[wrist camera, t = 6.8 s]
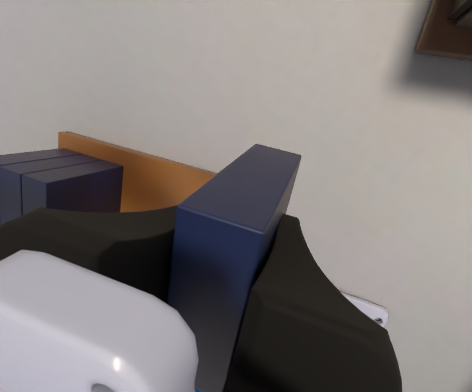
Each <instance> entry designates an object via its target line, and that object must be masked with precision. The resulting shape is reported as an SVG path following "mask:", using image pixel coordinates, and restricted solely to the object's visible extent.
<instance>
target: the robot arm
mask: <svg viewBox="0 0 472 392" xmlns="http://www.w3.org/2000/svg"><path fill="white" fill-rule="evenodd" d="M177 206H178V205H176V206H171V207H167V208H162V209H156V210H148V211H139V212H121V213H95V212H77V211H67V210H58V209H49V208H42V207H41V208H38V209H35V210H33V211H31V212H28V213H26V214H24V215H21V216H19V217H17V218H14V219H12V220H10V221H7V222H5V223H3V224H2V225H0V392H195V377H196V372H197V366H198V361H199V359H198V352H197V346H196V339H195V335H194V333H193V332H192V330H191V329H190V328H189V326H188V325H187V323H186V322H185V321H184V319H183V318H182V317H181V315H180V314H179V312H178V311H177V310H176V309H174V308H173V307H171V306H169V305H168V304H167V296H168V286H169V277H170V268H171V258H172V249H173V240H174V230H175V221H176V212H177ZM376 318H380V319H382V320H381V321H376V320H375V319H376ZM388 318H389V314H388V310H387V309H386V308H384V307H382V306H379V305H377V304H374V303H371V302H368V301H365V300H362V299H359V298H357V297H354V296H351V295H348V294H345V293H342V292H340V291H339V290H338V289H337V288H336V287H335V286H334V285H333V284H332V283H331V282H330V280H329V279H328V278H327V277H326V276H325V274H324V273H323V272H322V270H321V269H320V268H319V266H318V265H317V263H316V262H315V260H314V258H313V256H312V255H311V253H310V251H309V248H308V246H307V244H306V241H305V239H304V236H303V234H302V230H301V227H300V221H299V219H298V218H296V217H293V216H290V215H286V214H283V215H282V217H281V219H280V221H279V223H278V226H277V230H276V234H275V237H274V241H273V245H272V249H271V252H270V256H269V258H268V260H267V262H266V265H265V267H264V268H263V270H262V272H261V274H260V276H259V278H258V279H257V281H256V282H255V284H254V286H253V287H252V288H251V292H250V296H249V300H248V304H247V308H246V312H245V316H244V320H243V324H242V328H241V332H240V336H239V340H238V344H237V348H236V351H235V355H234V359H233V363H232V366H231V368H230V371H229V374H228V376H227V379H226V382H225V384H224V387H223V391H222V392H402V380H401V375H400V371H399V366H398V362H397V358H396V355H395V352H394V349H393V346H392V343H391V341H390V338H389V335H388V331H387V330H386V329H385V328H384V327H385V325H386V322H387V320H388Z"/></svg>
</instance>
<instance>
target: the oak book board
mask: <svg viewBox="0 0 472 392" xmlns="http://www.w3.org/2000/svg"><path fill="white" fill-rule="evenodd" d="M215 175H217V173H214V172H210V171H207V170H203V169H200V168H196V167H192V166H189V165H185V164H182V163H178V162H175V161H171V160H168V159H164V158H160V157H157V156H153V155H150V154H146V153H143V152H139V151H136V150H132V149H128V148H125V147H121V146H118V145H114V144H111V143H107V142H104V141H100V140H96V139H93V138H89V137H86V136H82V135H79V134H75V133H72V132H68V131H67V132H59V140H58V149H52V150H43V151H34V152H25V153H16V154H7V155H0V225H2V224H3V223H5V222H7V221H10V220H12V219H14V218H17V217H19V216H21V215H24V214H26V213H28V212H31V211H33V210H35V209H38V208H41V207H42V208H49V209H58V210H67V211H77V212H95V213H121V212H139V211H148V210H156V209H162V208H167V207H171V206H176V205H178V204H179V203H181V202H182V201H183V200H185V199H186V198H187V197H188V196H190V195H191V194H192V193H194V192H195V191H196V190H197V189H199V188H200V187H201V186H203V185H204V184H205V183H206V182H208V181H209V180H210V179H211V178H213V177H214V176H215Z"/></svg>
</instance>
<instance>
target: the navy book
mask: <svg viewBox="0 0 472 392" xmlns="http://www.w3.org/2000/svg"><path fill="white" fill-rule="evenodd" d="M300 160H301V155H298V154H294V153H290V152H287V151H283V150H279V149H275V148H271V147H267V146H263V145H259V144H255V145H254V146H252V147H251V148H250V149H249V150H247V151H246V152H245V153H243V154H242V155H241V156H240V157H238V158H237V159H236V160H235V161H233V162H232V163H231V164H229V165H228V166H227V167H226V168H224V169H223V170H222V171H220V172H219V173H218V174H217V175H215V176H214V177H213V178H211V179H210V180H209V181H208V182H206V183H205V184H204V185H203V186H201V187H200V188H199V189H197V190H196V191H195V192H194V193H192V194H191V195H190V196H188V197H187V198H186V199H185V200H183V201H182V202H181V203H179V204H178V206H177V212H176V221H175V230H174V240H173V249H172V258H171V268H170V277H169V286H168V296H167V304H168V305H169V306H171V307H173V308H174V309H176V310H177V311H178V312H179V314H180V315H181V317H182V318H183V319H184V321H185V322H186V323H187V325H188V326H189V328H190V329H191V330H192V332H193V333H194V335H195V339H196V346H197V352H198V359H199V361H198V366H197V372H196V377H195V388H196V389H198V390H200V391H202V392H222V391H223V387H224V384H225V382H226V379H227V376H228V374H229V371H230V368H231V366H232V363H233V359H234V355H235V351H236V348H237V344H238V340H239V336H240V332H241V328H242V324H243V320H244V316H245V312H246V308H247V304H248V300H249V296H250V292H251V288H252V287H253V286H254V284H255V282H256V281H257V279H258V278H259V276H260V274H261V272H262V270H263V268H264V267H265V265H266V262H267V260H268V258H269V256H270V252H271V249H272V245H273V241H274V237H275V234H276V230H277V226H278V223H279V221H280V219H281V217H282V215H283V214H286V211H287V207H288V204H289V200H290V196H291V193H292V189H293V186H294V182H295V178H296V175H297V171H298V168H299V164H300Z"/></svg>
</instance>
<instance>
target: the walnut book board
mask: <svg viewBox="0 0 472 392" xmlns="http://www.w3.org/2000/svg"><path fill="white" fill-rule="evenodd" d="M415 52H416V53H423V54H430V55H437V56H444V57H451V58H458V59H465V60H472V0H432V3H431V6H430V9H429V12H428V15H427V18H426V21H425V23H424V26H423V29H422V32H421V35H420V38H419V41H418V43H417V46H416V49H415Z"/></svg>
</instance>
